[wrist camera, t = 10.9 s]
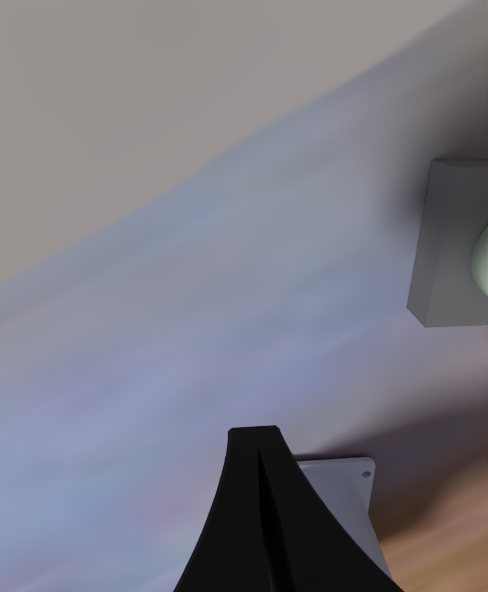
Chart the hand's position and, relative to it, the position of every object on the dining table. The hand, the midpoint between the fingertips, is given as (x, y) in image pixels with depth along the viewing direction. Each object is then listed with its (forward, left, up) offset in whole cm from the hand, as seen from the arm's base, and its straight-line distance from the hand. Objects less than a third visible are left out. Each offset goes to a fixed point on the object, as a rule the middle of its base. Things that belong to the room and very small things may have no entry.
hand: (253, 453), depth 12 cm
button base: (+3, -12, -9) cm, 16 cm away
